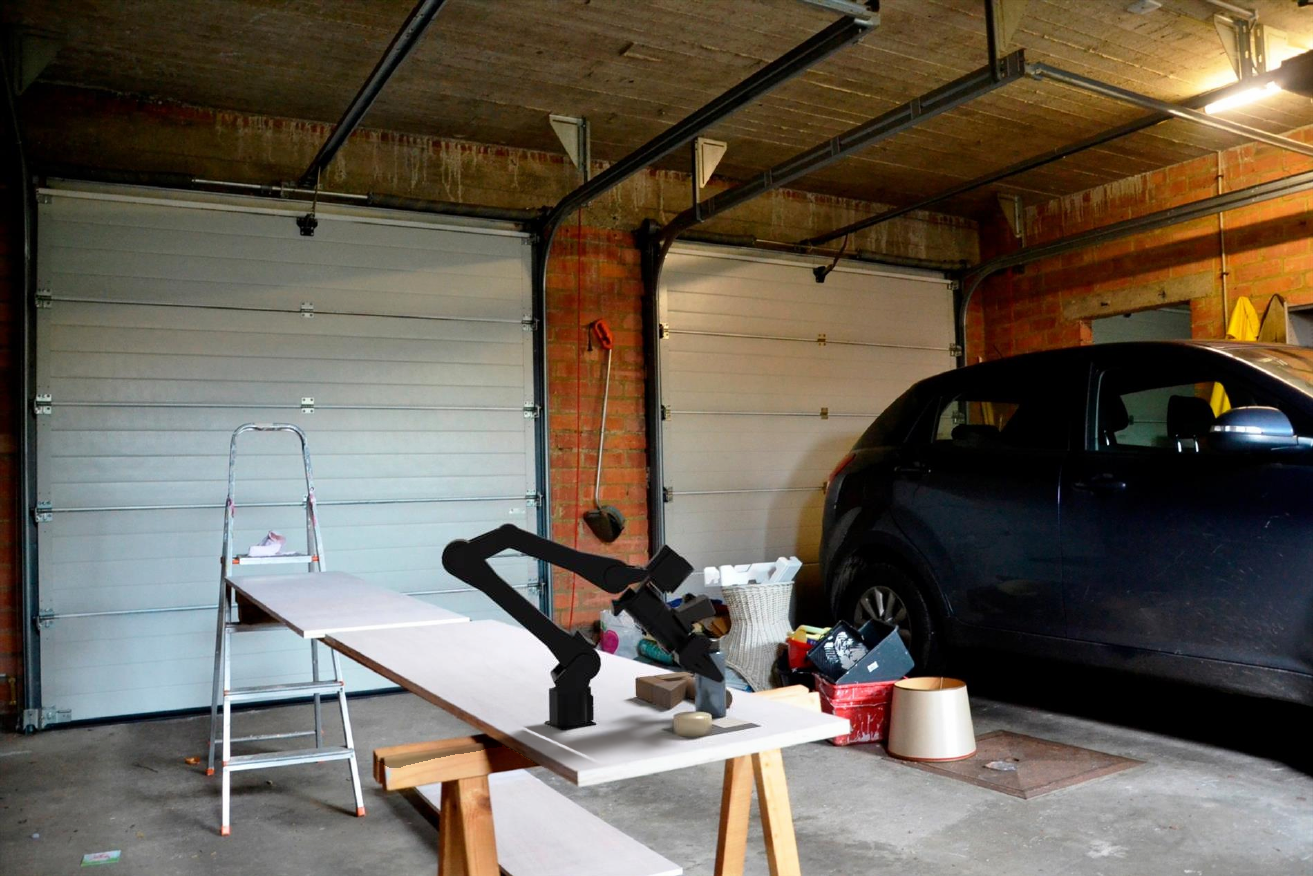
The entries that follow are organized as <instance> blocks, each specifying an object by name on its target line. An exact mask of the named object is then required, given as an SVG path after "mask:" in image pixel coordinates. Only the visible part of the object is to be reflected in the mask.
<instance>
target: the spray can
mask: <svg viewBox="0 0 1313 876" xmlns="http://www.w3.org/2000/svg"><path fill="white" fill-rule="evenodd" d="M708 638H709V637H708ZM709 639H710V640H711V641H712V642H713V643H712V645H711V646H710V648H709V655H710V656H711V658H712V660H713V661H714V663H715V664H716V666H717V667H718V669H719V670H720V672H721V673H722V675H723V676H724V680H723V681H722V682H721V683H719V682H717V681H714V680H712V679H709V678H707V677H704V676H701V675H699V674H696V673H694V678H695V699H694V701H695V702H694V705H695V706H694V707H695V710H694V712H705V713H709V714H711V716H712V720H713V719H719V718H725V717H727V708H726V689H727V687H726V686H727V684H726V683H727V682H726V681H727V676H726V674H727V673H726V670H727V669H726V650H721V642H720V639H719V638H712V637H711V638H709Z"/></svg>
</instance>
